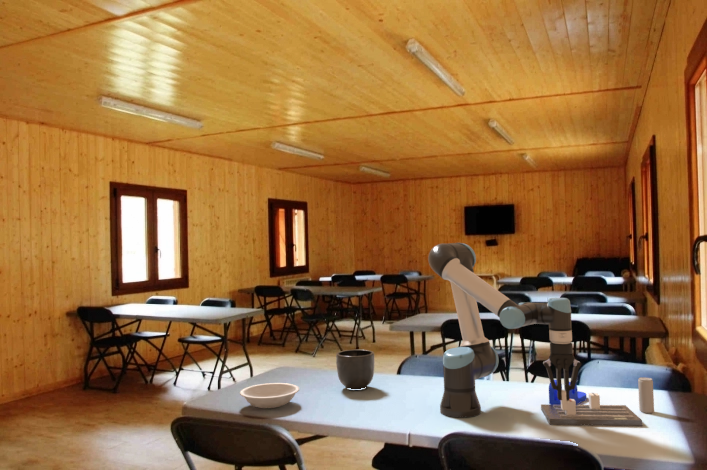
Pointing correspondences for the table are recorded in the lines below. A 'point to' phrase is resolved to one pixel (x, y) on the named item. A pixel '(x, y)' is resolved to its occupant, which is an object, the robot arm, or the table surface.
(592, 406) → the fader
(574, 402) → the fader
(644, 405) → the beverage can
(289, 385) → the soup bowl
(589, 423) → the console
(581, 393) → the bracket
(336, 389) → the table surface
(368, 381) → the planter
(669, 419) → the table surface
